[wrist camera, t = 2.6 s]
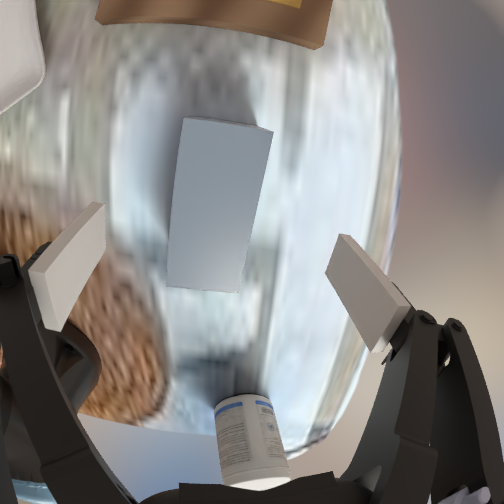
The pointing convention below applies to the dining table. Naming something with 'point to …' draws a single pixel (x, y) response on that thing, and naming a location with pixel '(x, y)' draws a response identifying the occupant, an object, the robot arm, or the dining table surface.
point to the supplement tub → (250, 443)
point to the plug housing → (214, 202)
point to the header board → (229, 16)
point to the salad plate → (19, 51)
